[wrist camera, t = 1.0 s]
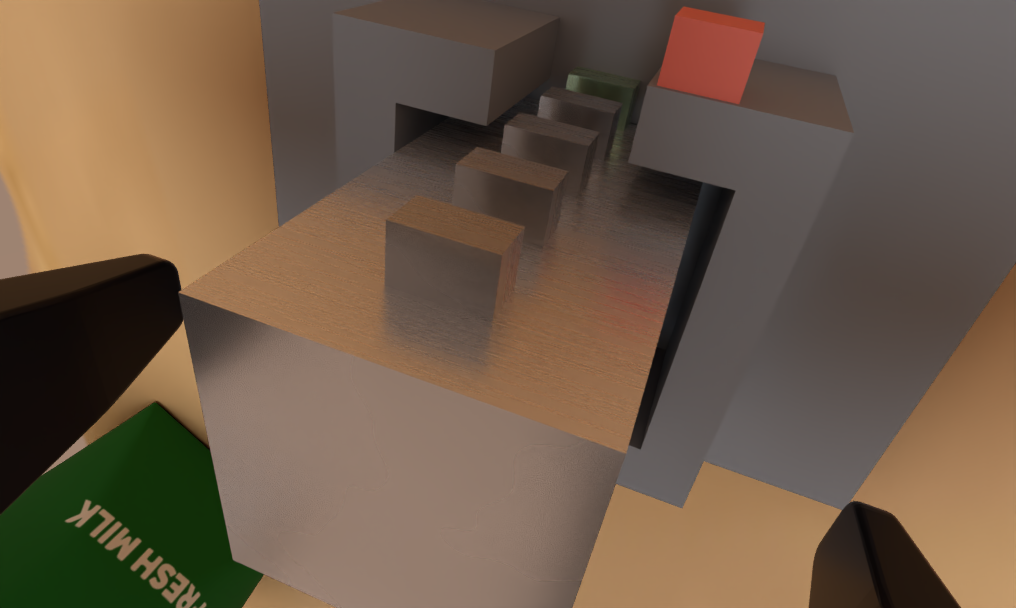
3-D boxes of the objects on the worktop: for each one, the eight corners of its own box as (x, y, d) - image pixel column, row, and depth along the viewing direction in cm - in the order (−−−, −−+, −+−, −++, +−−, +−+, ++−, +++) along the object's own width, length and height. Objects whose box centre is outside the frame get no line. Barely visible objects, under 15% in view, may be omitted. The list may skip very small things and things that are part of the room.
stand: (840, 477, 14) (857, 639, 11) (309, 294, 17) (203, 382, 14) (1154, -1, 9) (1369, 55, 5) (282, -150, 12) (95, -170, 8)
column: (652, 328, 13) (539, 701, 7) (472, 272, 14) (233, 560, 8) (727, 100, 10) (651, 383, 4) (499, 47, 11) (163, 221, 5)
